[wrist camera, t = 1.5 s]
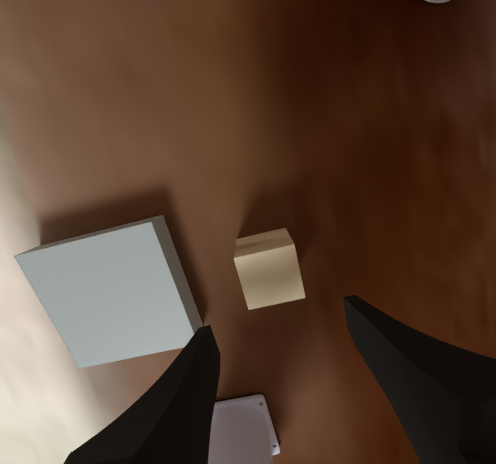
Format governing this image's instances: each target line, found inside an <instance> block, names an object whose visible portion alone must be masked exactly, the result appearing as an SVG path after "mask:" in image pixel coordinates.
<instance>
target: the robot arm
mask: <svg viewBox="0 0 496 464" xmlns="http://www.w3.org/2000/svg"><path fill="white" fill-rule="evenodd" d="M343 300H344V307H345V313H346V320H347V326H348V331H349V333H350V335H351V337H352V339H353V341H354V343H355V345H356V347H357V349H358V351H359V353H360V354H361V356H362V357H363V359H364V361H365V362H366V364H367V365H368V367H369V369H370V370H371V372H372V373H373V375H374V376H375V378H376V380H377V381H378V383H379V384H380V386H381V388H382V389H383V391H384V392H385V394H386V396H387V398H388V399H389V401H390V403H391V405H392V407H393V409H394V411H395V413H396V414H397V416H398V418H399V420H400V422H401V424H402V426H403V428H404V430H405V432H406V434H407V436H408V438H409V440H410V442H411V444H412V446H413V448H414V450H415V452H416V454H417V456H418V458H419V460H420V462H421V464H496V359H493V358H490V357H487V356H483V355H480V354H477V353H474V352H471V351H468V350H465V349H462V348H459V347H456V346H454V345H451V344H448V343H445V342H443V341H440V340H438V339H435V338H433V337H431V336H428V335H426V334H424V333H422V332H419V331H417V330H415V329H413V328H411V327H409V326H407V325H405V324H403V323H401V322H399V321H397V320H396V319H394V318H392V317H390V316H388V315H387V314H385V313H383V312H382V311H380V310H378V309H377V308H375V307H373V306H372V305H370V304H369V303H367V302H365V301H364V300H362V299H361V298H359V297H358V296H356V295H352V296H347V297H343ZM219 375H220V352H219V349H218V346H217V344H216V341H215V338H214V335H213V332H212V329H211V326H210V325H208V326H203V327H199V328H198V330H197V331H196V332H195V334H194V335H193V336H192V338H191V339H190V340H189V342H188V343H187V345H186V346H185V347H184V349H183V350H182V351H181V352H180V354H179V355H178V356H177V358H176V359H175V360H174V361H173V363H172V364H171V365H170V366H169V367H168V369H167V370H166V371H165V372H164V373H163V375H162V376H161V377H160V378H159V379H158V380H157V381H156V382H155V383H154V384H153V385H152V386H151V387H150V388H149V390H148V391H147V392H146V393H145V394H144V395H142V396H141V397H140V398H139V399H138V400H137V401H136V402H135V403H134V404H133V405H132V406H131V407H129V408H128V409H127V410H126V411H125V412H124V413H123V414H121V415H120V416H119V417H118V418H117V419H116V420H114V421H113V422H112V423H111V424H109V425H108V426H107V427H106V428H104V429H103V430H102V431H100V432H99V433H98V434H96V435H95V436H94V437H92V438H91V439H90V440H88V441H87V442H85V443H84V444H83V445H81V446H80V447H78V448H77V449H76V450H74V451H73V452H71V453H70V454H69V456H68V457H67V459H66V461H65V462H64V464H273V458H272V455H276V454H279V453H280V447H279V444H278V441H277V437H276V434H275V431H274V427H273V424H272V421H271V418H270V414H269V411H268V408H267V404H266V401H265V398H264V396H263V395H261V394H258V395H253V396H247V397H242V398H236V399H231V400H225V401H220V402H215V400H216V394H217V388H218V382H219Z"/></svg>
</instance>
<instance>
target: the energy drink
mask: <svg viewBox="0 0 496 464" xmlns="http://www.w3.org/2000/svg"><path fill="white" fill-rule="evenodd" d="M425 1H427V2H430V3H443V2H448V1H451V0H425Z"/></svg>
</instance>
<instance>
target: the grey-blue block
mask: <svg viewBox="0 0 496 464" xmlns="http://www.w3.org/2000/svg"><path fill="white" fill-rule="evenodd" d="M14 257H15V259H16V261H17V262H18V264H19V266H20V268H21V269H22V271H23V273H24V274H25V276H26V278H27V280H28V281H29V283H30V285H31V286H32V288H33V290H34V292H35V293H36V295H37V297H38V299H39V300H40V302H41V304H42V305H43V307H44V309H45V311H46V312H47V314H48V316H49V317H50V319H51V321H52V323H53V324H54V326H55V328H56V329H57V331H58V333H59V335H60V336H61V338H62V340H63V342H64V343H65V345H66V347H67V348H68V350H69V352H70V354H71V355H72V357H73V359H74V360H75V362H76V364H77V366H78V367H79V368H84V367H89V366H93V365H98V364H103V363H108V362H113V361H118V360H123V359H128V358H133V357H138V356H143V355H148V354H153V353H157V352H162V351H167V350H172V349H177V348H182V347H185V346H186V345H187V343H188V342H189V340H190V339H191V338H192V336H193V335H194V334H195V332H196V331H197V330H198V328H199V327H203V324H202V321H201V318H200V316H199V313H198V310H197V307H196V305H195V302H194V299H193V296H192V294H191V291H190V288H189V285H188V282H187V280H186V277H185V274H184V271H183V269H182V266H181V263H180V260H179V258H178V255H177V252H176V249H175V247H174V244H173V241H172V238H171V236H170V233H169V230H168V227H167V225H166V222H165V219H164V216H163V215H159V216H155V217H152V218H148V219H144V220H140V221H136V222H132V223H128V224H124V225H120V226H116V227H112V228H108V229H104V230H100V231H96V232H92V233H88V234H84V235H80V236H76V237H72V238H68V239H64V240H60V241H56V242H52V243H48V244H44V245H40V246H38V247H35V248H33V249H30V250H28V251H25V252H23V253H21V254H18V255H16V256H14Z"/></svg>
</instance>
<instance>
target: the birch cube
mask: <svg viewBox="0 0 496 464" xmlns="http://www.w3.org/2000/svg"><path fill="white" fill-rule="evenodd" d="M234 261H235V265H236V268H237V272H238V275H239V279H240V282H241V286H242V289H243V293H244V296H245V299H246V303H247V306H248V310H251V309H255V308H260V307H265V306H270V305H274V304H279V303H284V302H288V301H293V300H298V299H303V298H305V293H304V288H303V283H302V279H301V274H300V269H299V264H298V259H297V254H296V249H295V244H294V242H293V241H292V239H291V237H290V235H289V233H288V231H287V230H286V228H281V229H277V230H273V231H269V232H264V233H260V234H256V235H252V236H247V237H243V238H239V239H237V241H236V247H235V253H234Z"/></svg>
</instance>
